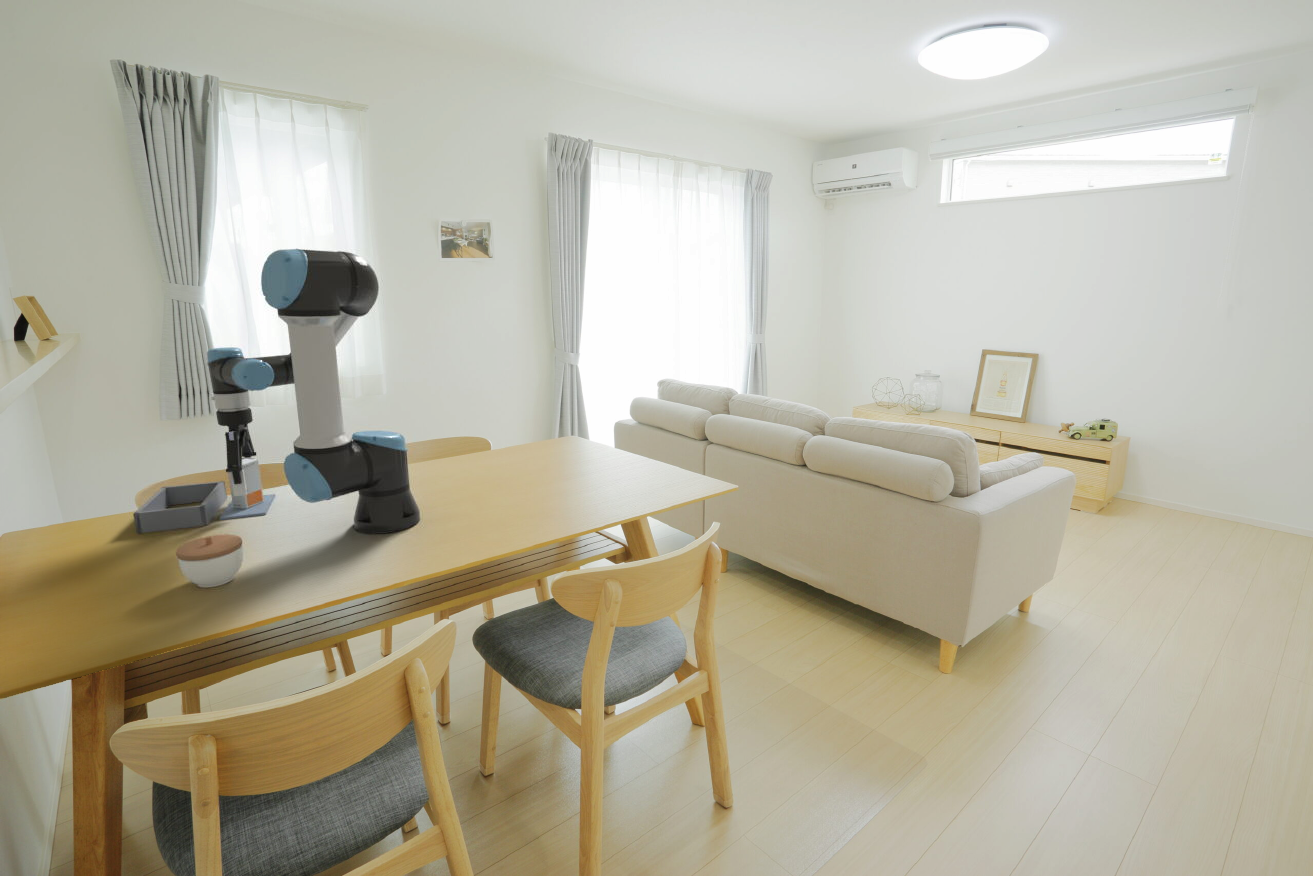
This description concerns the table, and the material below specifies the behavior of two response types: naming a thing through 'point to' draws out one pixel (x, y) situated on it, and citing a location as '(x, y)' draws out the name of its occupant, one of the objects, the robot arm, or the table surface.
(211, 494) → the parts bin
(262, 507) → the board
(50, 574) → the table surface
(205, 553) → the lidded jar
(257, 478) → the skincare box
